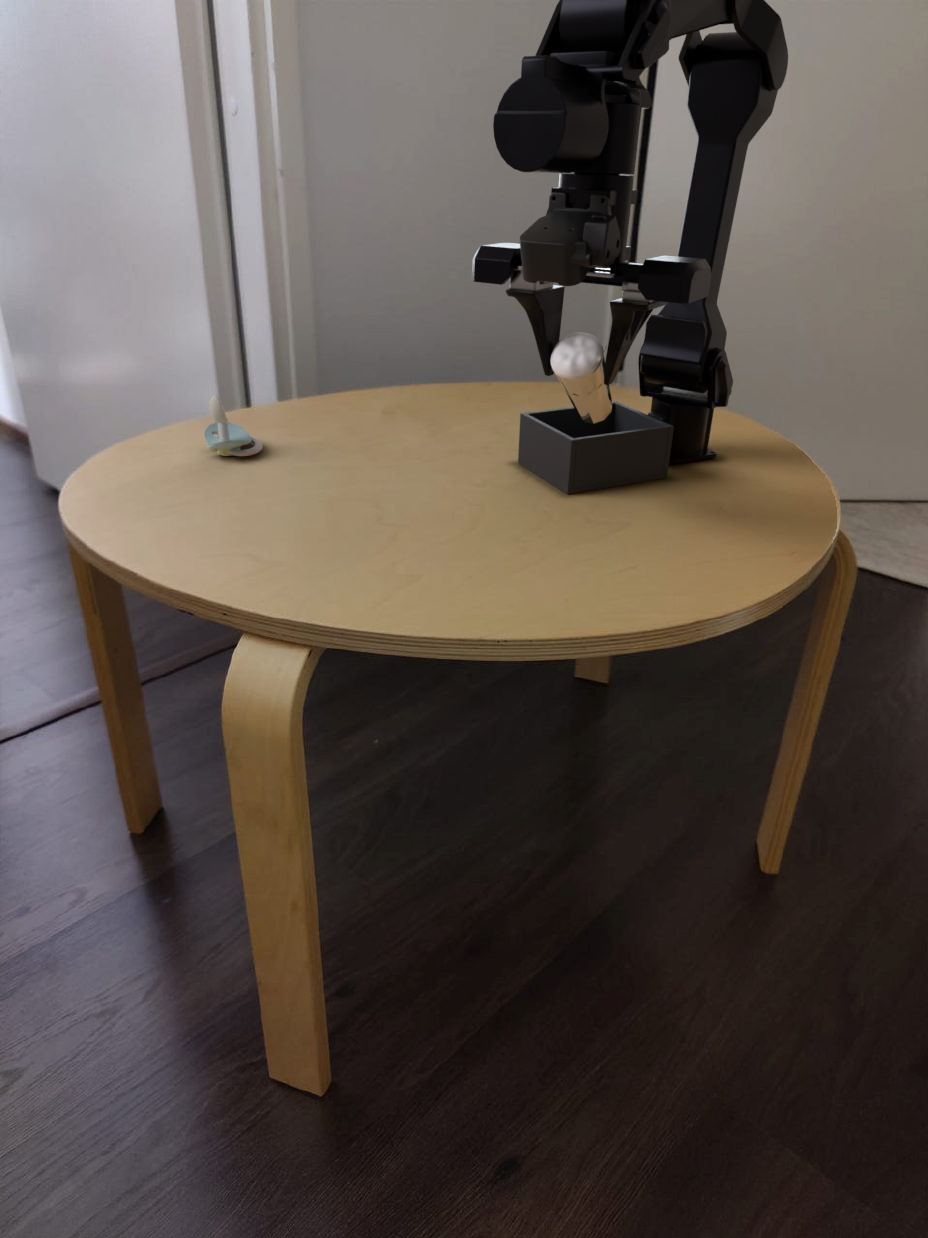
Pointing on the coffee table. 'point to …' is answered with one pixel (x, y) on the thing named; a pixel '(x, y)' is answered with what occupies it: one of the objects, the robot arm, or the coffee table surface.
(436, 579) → the coffee table surface
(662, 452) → the bin
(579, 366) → the milkshake
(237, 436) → the pacifier
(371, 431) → the coffee table surface
